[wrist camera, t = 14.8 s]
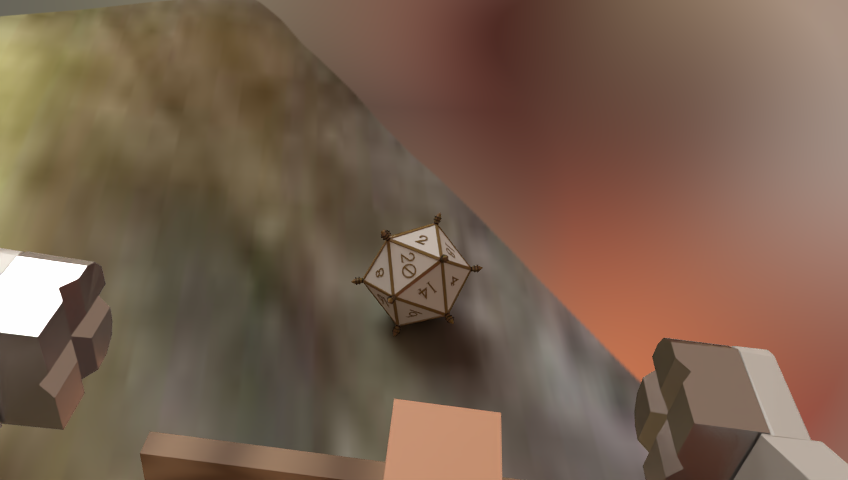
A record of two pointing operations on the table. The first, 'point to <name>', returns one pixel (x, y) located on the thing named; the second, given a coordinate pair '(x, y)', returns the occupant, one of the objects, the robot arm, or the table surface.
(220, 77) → the table surface
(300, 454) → the board
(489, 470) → the terracotta block
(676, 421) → the robot arm
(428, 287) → the game die
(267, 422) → the table surface
